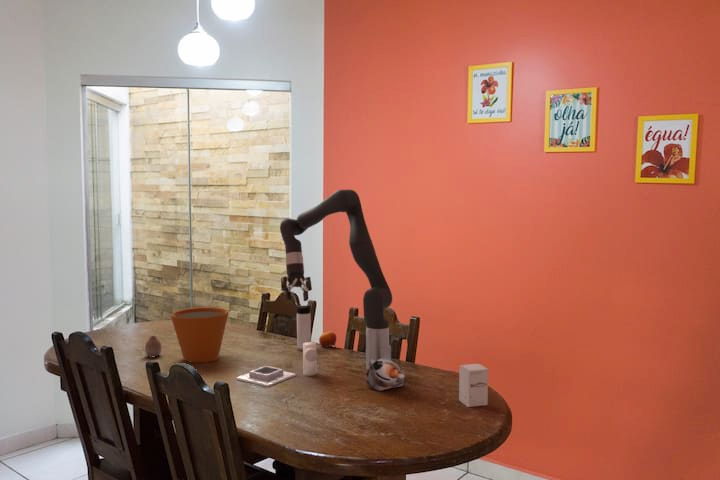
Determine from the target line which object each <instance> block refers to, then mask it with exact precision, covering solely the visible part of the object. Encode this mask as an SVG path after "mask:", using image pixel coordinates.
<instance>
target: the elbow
mask: <svg viewBox="0 0 720 480" xmlns="http://www.w3.org/2000/svg"><path fill="white" fill-rule="evenodd" d="M318 355H319V354H318V352H317V343H316V342H315V341H313V342H312V341H311V342H306V343H303V351H302V372H303V376H307V377H308V376H311V377H312V376H316V375H317V359H318V357H319V356H318Z"/></svg>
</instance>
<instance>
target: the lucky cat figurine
mask: <svg viewBox="0 0 720 480" xmlns="http://www.w3.org/2000/svg"><path fill="white" fill-rule="evenodd" d="M369 365H370V368H369V369H368V370H367V372H366V384H368V386H369V388H370V389H373V390H376V391H378V392H379V391H380V392H383V391H384V390H389V389H392V388H400V387H404V383H405V382H404V380H405V378H406V372H404V371H403V370H401V367H400V366H399V365H398V364H397V363H396V362H394V360H392V359H391V360H388V359H379V360H377V361H375V360H374V359H371V360H370V363H369Z"/></svg>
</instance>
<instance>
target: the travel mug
mask: <svg viewBox="0 0 720 480" xmlns="http://www.w3.org/2000/svg"><path fill="white" fill-rule="evenodd" d="M311 308H312V305H302V306H298V307H296V345H297V346H296V348H297V350H298V351H301V352H303V343H306V342H312V339H311V338H312V334H311V333H312V330H311V329H312V328H311V325H312V323H311V318H312V317H311V315H312V314H311Z"/></svg>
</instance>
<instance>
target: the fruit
mask: <svg viewBox="0 0 720 480" xmlns="http://www.w3.org/2000/svg"><path fill="white" fill-rule="evenodd" d="M318 342H319V344H320V346H322V347H324V348H331V347H333V346H335V347H337V346H336V342H337V334H336V333H335V332H333V331H332V330H329V331H325V332H323V333H322V334H320V336H319V337H318ZM328 346H329V347H328Z"/></svg>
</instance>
